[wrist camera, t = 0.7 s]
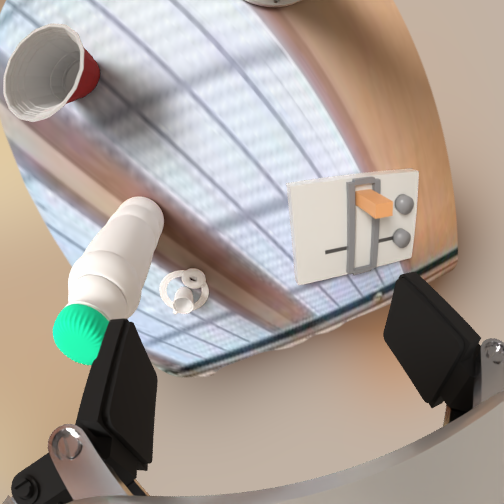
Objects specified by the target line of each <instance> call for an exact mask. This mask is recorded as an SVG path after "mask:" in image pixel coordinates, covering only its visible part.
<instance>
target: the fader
mask: <svg viewBox="0 0 504 504" xmlns="http://www.w3.org/2000/svg"><path fill="white" fill-rule="evenodd" d="M355 205H357V206H358V207H360V208H361V209H362V210H364V211H365V212H367V213H368V214H369V215H371V216H372V217H373V218H375V219H378V218H383V217H389V216H393V201H391V200H389V199H388V198H386V197H384V196H383V195H381V194H379V193H377V192H375V191H374V190H372V189H367V190H360V191H355Z"/></svg>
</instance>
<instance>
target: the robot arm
mask: <svg viewBox="0 0 504 504" xmlns="http://www.w3.org/2000/svg"><path fill="white" fill-rule="evenodd" d="M245 1H247V2H249V3H252V4H256V5H259V6H265V7H284V6H289V5H292V4H295V3H297V2H299V1H301V0H245ZM274 1H275V2H276V3H275V2H274ZM480 339H481V337H480V336H479V335H478V334H477V333H476V332H475V331H474V330H473V329H472V327H471V326H470V325H469V324H468V323H467V322H466V321H465V320H464V319H463V318H462V317H461V316H460V315H459V314H458V313H457V312H456V311H455V310H454V309H453V308H452V307H451V306H450V305H449V304H448V303H447V302H446V301H445V300H444V299H443V298H442V297H441V296H440V295H439V294H438V293H437V292H436V291H435V290H434V289H433V288H432V287H431V286H430V285H429V284H428V283H427V282H426V281H425V280H424V279H422V278H421V277H420V276H419V275H418V274H417V273H416V272H410V273H406V274H402V275H400V277H399V279H398V280H397V281H396V284H395V288H394V293H393V297H392V301H391V306H390V310H389V314H388V318H387V322H386V325H385V329H384V340H385V342H386V343H387V345H388V346H389V348H390V349H391V351H392V352H393V354H394V355H395V356H396V358H397V360H398V361H399V362H400V364H401V366H402V367H403V369H404V370H405V372H406V373H407V375H408V376H409V378H410V379H411V381H412V383H413V384H414V386H415V387H416V389H417V390H418V392H419V394H420V395H421V397H422V398H423V400H424V401H425V402H426V403H429V405H430V406H431V408H434V407H435V406H437V405H439V404H441V403H442V402H443V401H445V403H446V404H447V405H446V412H445V418H444V424H443V427H442V428H440V429H438V430H436V431H434V432H433V433H431V434H429V435H427V436H425V437H423V438H421V439H419V440H417V441H415V442H413V443H411V444H409V445H407V446H405V447H402V448H400V449H398V450H396V451H393V452H391V453H389V454H386V455H384V456H381V457H379V458H376V459H374V460H372V461H369V462H366V463H363V464H361V465H358V466H355V467H352V468H349V469H346V470H343V471H340V472H336V473H333V474H330V475H326V476H323V477H319V478H316V479H311V480H307V481H303V482H299V483H295V484H290V485H285V486H281V487H275V488H270V489H263V490H257V491H250V492H242V493H233V494H222V495H206V496H185V497H184V496H180V497H164V496H150V495H149V494H148V493H147V492H146V491H145V489H144V488H143V487H142V486H141V485H140V484H139V483H138V481H137V480H136V479H135V478H136V475H137V470H145V471H147V467H148V463H151V462H152V453H153V452H152V451H153V433H154V432H153V431H154V417H155V402H156V392H157V375H156V372H155V370H154V368H153V366H152V364H151V362H150V359H149V357H148V355H147V353H146V351H145V348H144V346H143V344H142V342H141V339H140V337H139V335H138V332H137V330H136V328H135V325H134V323H133V322H129V321H128V320H127V319H126V318H122V319H111V320H110V321H109V323H108V326H107V329H106V332H105V334H104V337H103V340H102V343H101V346H100V349H99V352H98V355H97V358H96V359H95V360H94V361H93V363H92V366H91V370H90V373H89V376H88V379H87V383H86V386H85V390H84V393H83V397H82V400H81V404H80V408H79V412H78V416H77V420H76V424H75V425H73V424H64V425H62V426H59V427H58V428H56V429H55V430H54V431H53V432H52V434H51V436H50V437H49V441H48V451H49V453H47V454H46V455H44V456H43V457H42V458H40V459H39V460H37V461H36V462H35V463H33V464H31V465H30V466H28V467H27V468H25V469H24V470H23V471H21V472H20V473H18V474H17V475H16V476H15V477H14V479H13V481H12V487H11V490H12V495H13V496H12V497H10V496H7V498H6V499H5V501H4V502H3V504H504V343H503V342H502V341H500V340H497V339H492V338H490V339H487V340H485V341H484V342H483V343H482V345H481V346H480V345H479V341H480Z"/></svg>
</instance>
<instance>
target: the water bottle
mask: <svg viewBox="0 0 504 504" xmlns="http://www.w3.org/2000/svg"><path fill="white" fill-rule="evenodd" d="M163 226H164V217H163V213H162V211H161V209H160V207H159V206H158V205H157V204H156V203H155V202H154V201H152V200H151V199H149V198H146V197H132V198H130V199H128V200H126V201H125V202H123V203H122V204H121V206H120V207H119V208H118V209H117V211H116V212H115V213H114V214H113V215H112V216H111V218H110V219H109V221H108V222H107V224H106V225H105V226H104V227H103V228H102V229H101V230H100V231H99V233H98V234H97V235H96V236H95V237H94V239H93V240H92V241H91V243H90V244H89V246H88V247H87V249H86V250H85V252H84V254H83V255H82V257H80V258H79V259H78V260H77V261H76V263H75V264H74V265H73V267H72V269H71V271H70V275H69V279H68V291H69V296H68V300H69V304H67V305H66V306H65V308H64V309H63V310H62V311H61V312H60V313H59V315H58V317H57V319H56V321H55V323H54V327H53V336H54V340H55V343H56V345H57V347H58V348H59V349H60V351H62V352H63V353H64V355H67V357H68V358H71V359H72V360H74V361H75V362H78V363H82V364H84V365H85V364H86V365H92V363H93V361H94V360H95V359H96V358H97V355H98V352H99V349H100V346H101V343H102V340H103V337H104V334H105V332H106V329H107V326H108V323H109V321H110V320H111V319H122V318H126V319H128V318H129V317H130V316H131V315H132V314H133V313H134V312H135V310H136V309H137V307H138V305H139V302H140V298H141V290H142V288H143V285H144V283H145V280H146V277H147V275H148V271H149V268H150V265H151V262H152V258H153V253H154V251H155V249H156V247H157V244H158V241H159V237H160V235H161V233H162V230H163Z"/></svg>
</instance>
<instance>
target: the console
mask: <svg viewBox="0 0 504 504" xmlns="http://www.w3.org/2000/svg"><path fill="white" fill-rule="evenodd" d="M418 178H419V171H417V170H415V169H412V168H409V169H397V170H387V171H376V172H367V173H358V174H349V175H341V176H333V177H325V178H318V179H311V180H304V181H297V182H291V183H286V186H287V195H288V205H289V215H290V226H291V237H292V248H293V260H294V273H295V280H296V282H297V284H298V285H303V284H307V283H312V282H316V281H321V280H325V279H329V278H333V277H338V276H342V275H346V274H353V275H356V274H360V273H364V272H368V271H371V269H372V268H376V267H378V266H382V265H386V264H390V263H394V262H397V261H401V260H405V259H409V258H411V256H412V249H413V241H414V233H415V223H416V212H417V198H418ZM367 189H372V190H374V191H375V192H377V193H379V194H381V195H383V196H384V197H386V198H388V199H389V200H391V201H393V216H389V217H383V218H378V219H375V218H373V217H372V216H371V215H369V214H368V213H367V212H365V211H364V210H362V209H361V208H360V207H358V206H357V205H355V191H360V190H367Z"/></svg>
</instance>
